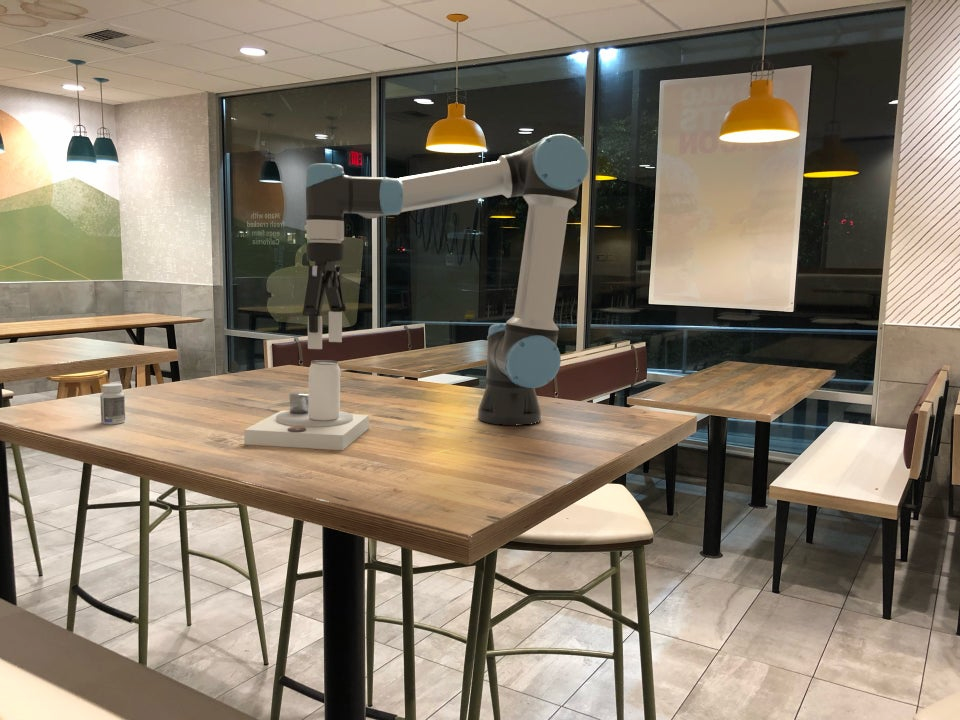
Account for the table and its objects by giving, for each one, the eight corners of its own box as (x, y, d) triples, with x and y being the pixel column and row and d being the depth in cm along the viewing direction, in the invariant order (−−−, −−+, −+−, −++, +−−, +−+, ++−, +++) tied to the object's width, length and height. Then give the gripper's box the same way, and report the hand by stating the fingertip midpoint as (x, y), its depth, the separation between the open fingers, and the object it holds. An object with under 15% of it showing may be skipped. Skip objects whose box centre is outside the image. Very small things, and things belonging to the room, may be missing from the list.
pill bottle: (130, 421, 164) (129, 384, 163) (111, 425, 160) (110, 387, 159) (115, 419, 166) (113, 382, 165) (96, 423, 162) (94, 384, 161)
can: (332, 422, 153) (333, 364, 152) (303, 420, 155) (303, 362, 153) (344, 416, 160) (345, 361, 158) (316, 414, 161) (316, 359, 159)
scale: (369, 427, 166) (370, 411, 166) (342, 450, 146) (343, 432, 145) (283, 422, 168) (283, 406, 168) (244, 444, 148) (244, 426, 147)
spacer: (313, 410, 165) (313, 392, 164) (306, 414, 160) (306, 396, 160) (293, 409, 165) (293, 391, 165) (286, 413, 161) (286, 395, 160)
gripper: (326, 243, 165) (326, 338, 168) (285, 239, 141) (286, 351, 143) (359, 244, 164) (359, 339, 167) (324, 240, 140) (324, 352, 143)
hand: (325, 345), depth 155 cm, fingers open, 13 cm apart
